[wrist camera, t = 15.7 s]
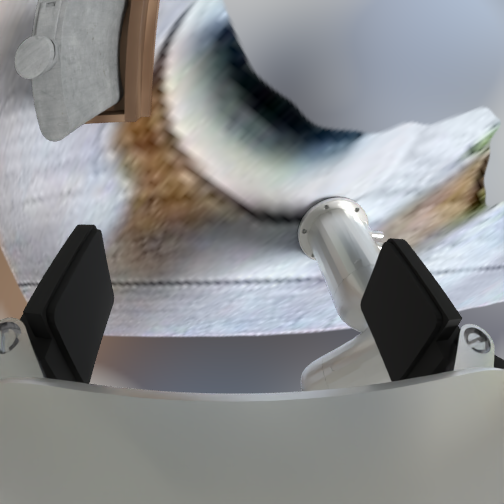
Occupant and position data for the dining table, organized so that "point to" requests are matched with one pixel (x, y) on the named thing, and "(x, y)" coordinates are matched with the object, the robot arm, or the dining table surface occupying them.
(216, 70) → the dining table surface
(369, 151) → the dining table surface
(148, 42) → the walnut stand
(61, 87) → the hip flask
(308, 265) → the dining table surface
